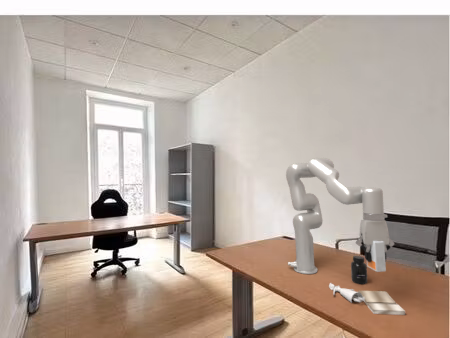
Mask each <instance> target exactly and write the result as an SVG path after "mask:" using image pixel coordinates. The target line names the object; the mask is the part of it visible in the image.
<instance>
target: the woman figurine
mask: <svg viewBox="0 0 450 338" xmlns="http://www.w3.org/2000/svg"><path fill="white" fill-rule="evenodd" d="M328 288H329V289H330V290H331V291H333V294H332V295H333V296H335V294H336V292H339V293H340V295H341V296H342V297H343V298H345V299H346V300H347V301H348V302H350V303H351V304H352V303H353V301H354V302H357V303H362V302H364V301H365V297H363V296H362V294H361V293H359V292H358V291H355V289H353V288H351V289H349V288H341V286H340V285H335V284H333V283H332V282H330V283H329V285H328ZM352 300H353V301H352Z"/></svg>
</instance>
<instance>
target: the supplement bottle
mask: <svg viewBox="0 0 450 338" xmlns="http://www.w3.org/2000/svg"><path fill="white" fill-rule="evenodd" d="M350 268H351V269H350V271H351V272H350V273H351V274H350V275H351V276H350V277H351V278H350V279H351V281H352V283H354V284H356V285H362V286H363V285H367V284H368V267H367V263H366V262H365V256H364V257H363V256H360V255H353V257H352V262H351V263H350Z"/></svg>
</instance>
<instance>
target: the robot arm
mask: <svg viewBox="0 0 450 338" xmlns="http://www.w3.org/2000/svg"><path fill="white" fill-rule="evenodd" d="M304 178H305V179H306V178H307V179H308V178H317V179H319V180H320V181H321V182H323V183H324V184H325V188H326V190H327V192H328V194H329V195H330V196H331V197H333V198H334V199H335V200H337V201H338V202H340V203H341V204H343V205H347V206H349V205H356V204H357V205H359V204H362V219H361V220H360V225H359V237H358V239H357V240H356V241H355V244H356V245H358V246H359V247H360V248H361V249H362V250H363V251H364V260H366V262H367V261H368V262H371V253H370V252H369V250H370V246H371V245H373V242H382V241H383V242H384V245H385V263H386V262H387V253H388V251H389V250H390V249H391V248H392V247H393V246H395V242H394V241H393V240H392V239H391V238H390V233H389V228H388V224H387V221H386V220H385V218H388V214H385V211H384V210H385V209H384V196H383V195H384V192H383V190H382V189H381V188H380V187H365V186H364V187H362V186H345V185H344V184H342V183H341V182H340V181H338V180H339V178H340V172H339V171H338V170H336V169H335V165H334V162H333V161H332V160H331V159H330V158H326V157H323V158H322V157H321V158H320V157H315V158H312V159H309V161H307V162H297V163H296V162H295V163H292V164H290V165H289V166H288V167H287V169H286V172H285V179H286V181H287V185H288V187H289V193H290V199H291V203H292V205H291V206H292V208H293V209H294V210H295V211H298V212H300V211H302V212H301V213H297V214H295V216H293V218H292V225H293V230H294V236H295V237H294V238H295V239H294V241H295V255H296V256H295V258H296V259H295V260H294V261H287V266H290V267H291V268H293V270H294V271H295V272H296V273H298V274H303V275H313V274H316V273H317V272H318V267H316V266H315V252H314V251H315V250H314V238H313V234H312V233H311V230H315V229H318V228H320V227H322V225H323V213H322V210H321V205H320V200H319V198H318V197H317V195H316V194H314V193H311V192H309V193H307V192H306V187H305V184H304V183H303V181H302V180H301V179H304ZM303 211H306V212H303ZM362 243H363V244H362Z"/></svg>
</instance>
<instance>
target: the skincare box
mask: <svg viewBox="0 0 450 338" xmlns="http://www.w3.org/2000/svg"><path fill="white" fill-rule="evenodd" d="M369 252H370V253H371V262H368V261H367V260H366V265H367V268H369V269H371V270H372V271H375V272H376V273H379V272H386V271H387V269H386V267H387V265H386V262H385V245H384V242H383V241H382V242H373V245H371V246H370V250H369Z"/></svg>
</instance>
